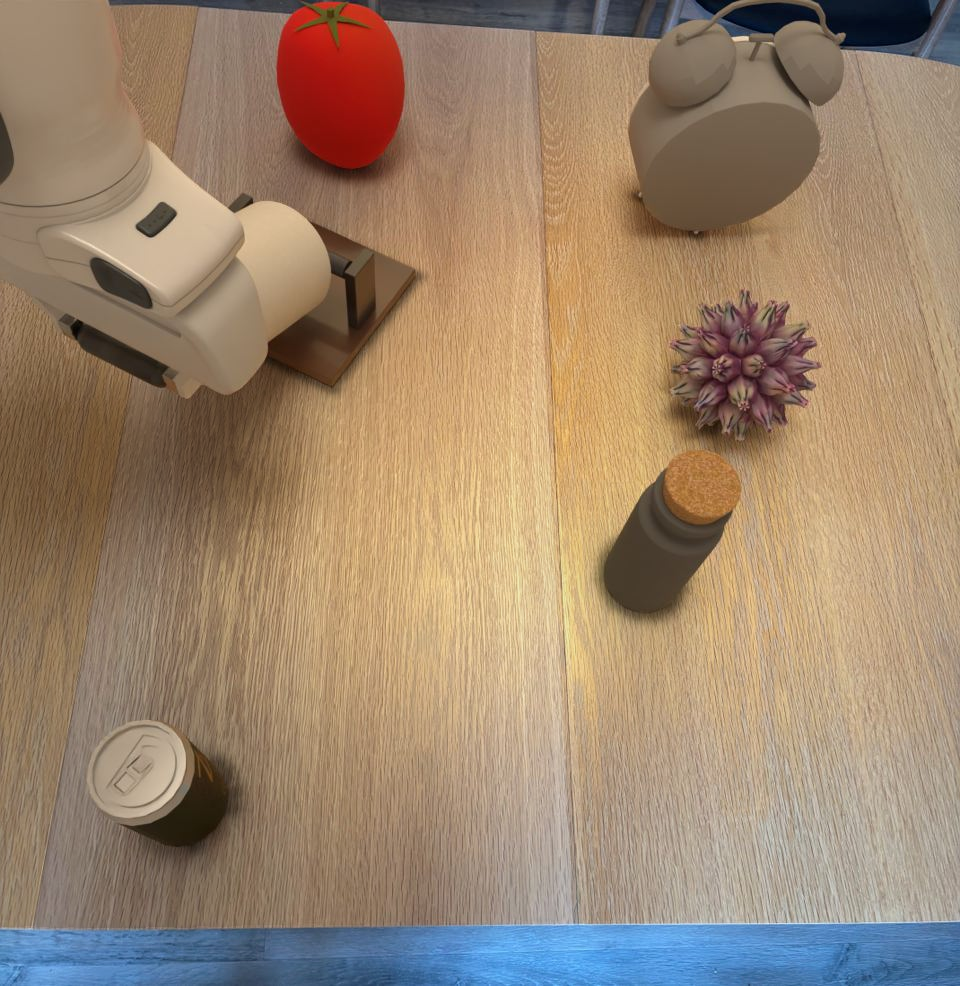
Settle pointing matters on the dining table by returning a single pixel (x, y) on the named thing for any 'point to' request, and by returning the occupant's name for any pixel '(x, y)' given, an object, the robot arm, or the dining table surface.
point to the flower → (743, 365)
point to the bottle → (672, 530)
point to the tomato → (340, 81)
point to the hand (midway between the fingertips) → (131, 358)
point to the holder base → (340, 308)
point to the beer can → (157, 783)
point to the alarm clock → (731, 118)
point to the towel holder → (275, 271)
